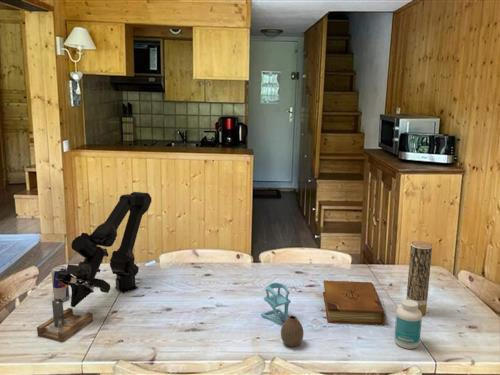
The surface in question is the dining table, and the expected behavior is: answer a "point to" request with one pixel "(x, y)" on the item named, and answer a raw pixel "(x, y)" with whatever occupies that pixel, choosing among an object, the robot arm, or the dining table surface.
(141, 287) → the dining table surface
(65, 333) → the walnut guide
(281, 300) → the chair
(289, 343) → the vase
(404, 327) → the pill bottle
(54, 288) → the energy drink
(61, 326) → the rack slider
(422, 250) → the wooden log
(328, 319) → the diary
